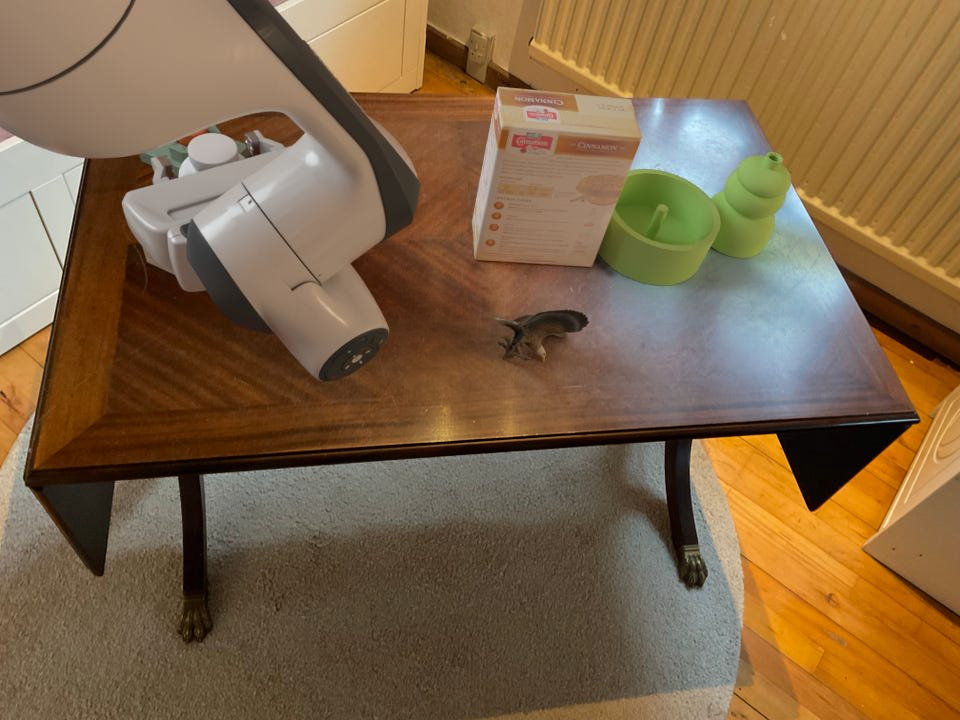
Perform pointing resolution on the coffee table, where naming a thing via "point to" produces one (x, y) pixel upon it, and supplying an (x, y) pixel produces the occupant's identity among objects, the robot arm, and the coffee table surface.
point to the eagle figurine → (539, 330)
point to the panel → (184, 152)
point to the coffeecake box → (552, 176)
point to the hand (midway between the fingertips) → (206, 148)
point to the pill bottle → (209, 153)
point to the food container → (692, 220)
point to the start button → (191, 137)
